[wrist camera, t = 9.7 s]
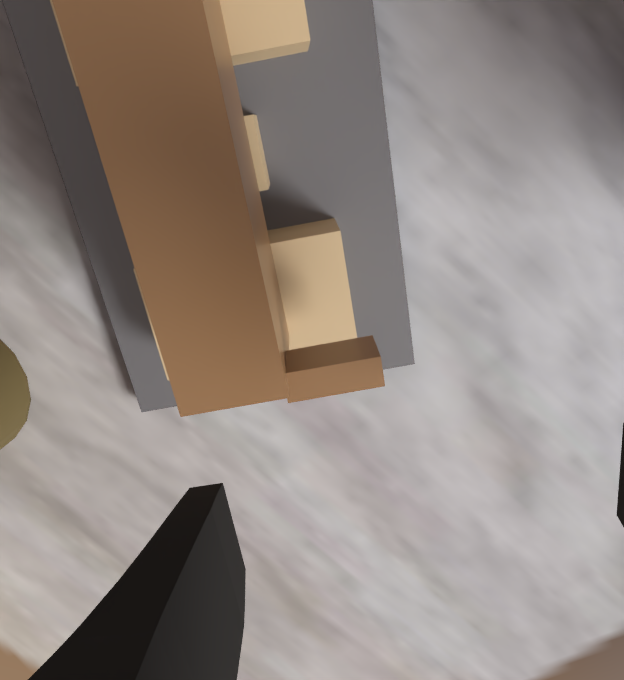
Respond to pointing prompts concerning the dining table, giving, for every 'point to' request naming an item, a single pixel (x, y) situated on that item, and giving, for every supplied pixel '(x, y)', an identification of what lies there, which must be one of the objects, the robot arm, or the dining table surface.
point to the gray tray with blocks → (260, 175)
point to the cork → (12, 396)
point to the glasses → (195, 205)
